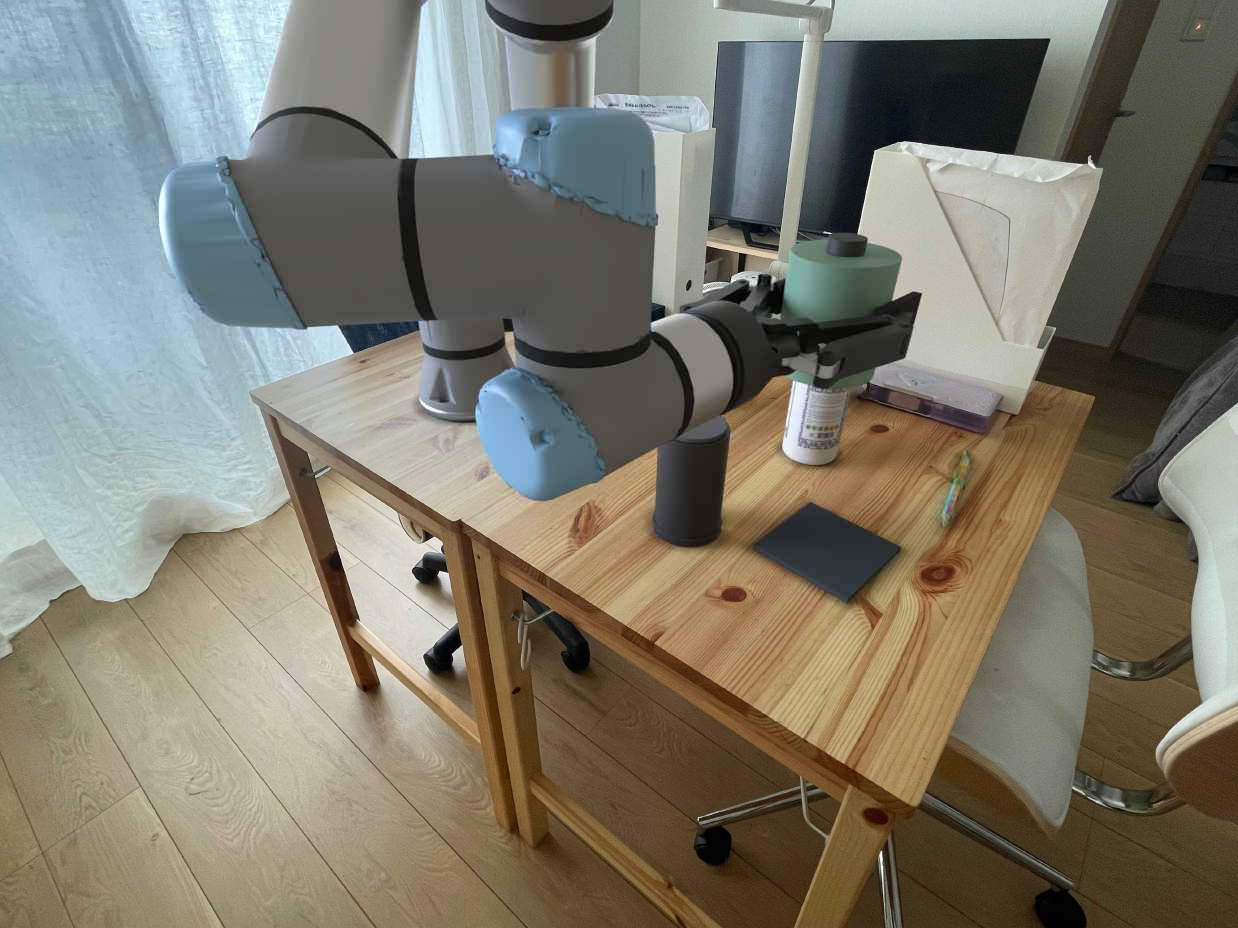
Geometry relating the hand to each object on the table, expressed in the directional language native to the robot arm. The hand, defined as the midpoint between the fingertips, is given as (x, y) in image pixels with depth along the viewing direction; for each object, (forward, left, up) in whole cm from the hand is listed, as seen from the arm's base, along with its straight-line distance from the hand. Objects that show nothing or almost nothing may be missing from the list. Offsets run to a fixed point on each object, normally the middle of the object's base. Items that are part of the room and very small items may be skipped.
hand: (862, 295), depth 56 cm
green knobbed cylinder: (+2, -4, -5) cm, 7 cm away
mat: (+4, -1, -26) cm, 26 cm away
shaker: (-6, -13, -26) cm, 30 cm away
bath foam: (-13, +9, -26) cm, 30 cm away
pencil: (+2, +20, -26) cm, 33 cm away
